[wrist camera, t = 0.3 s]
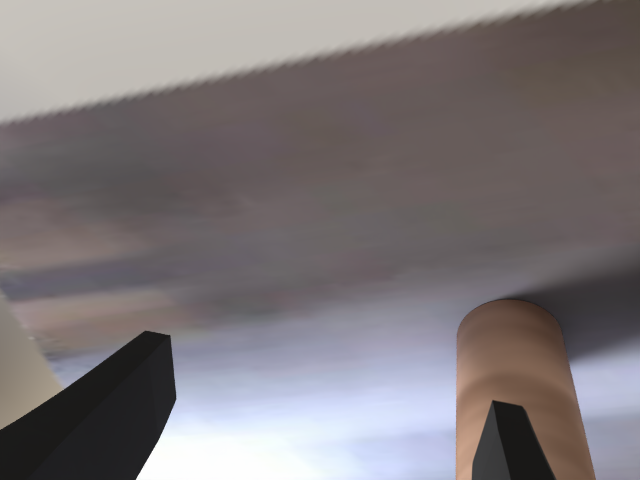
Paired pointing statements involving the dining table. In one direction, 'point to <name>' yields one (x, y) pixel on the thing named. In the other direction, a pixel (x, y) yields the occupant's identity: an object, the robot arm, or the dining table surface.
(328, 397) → the dining table surface
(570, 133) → the dining table surface
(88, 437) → the robot arm
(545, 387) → the peg
